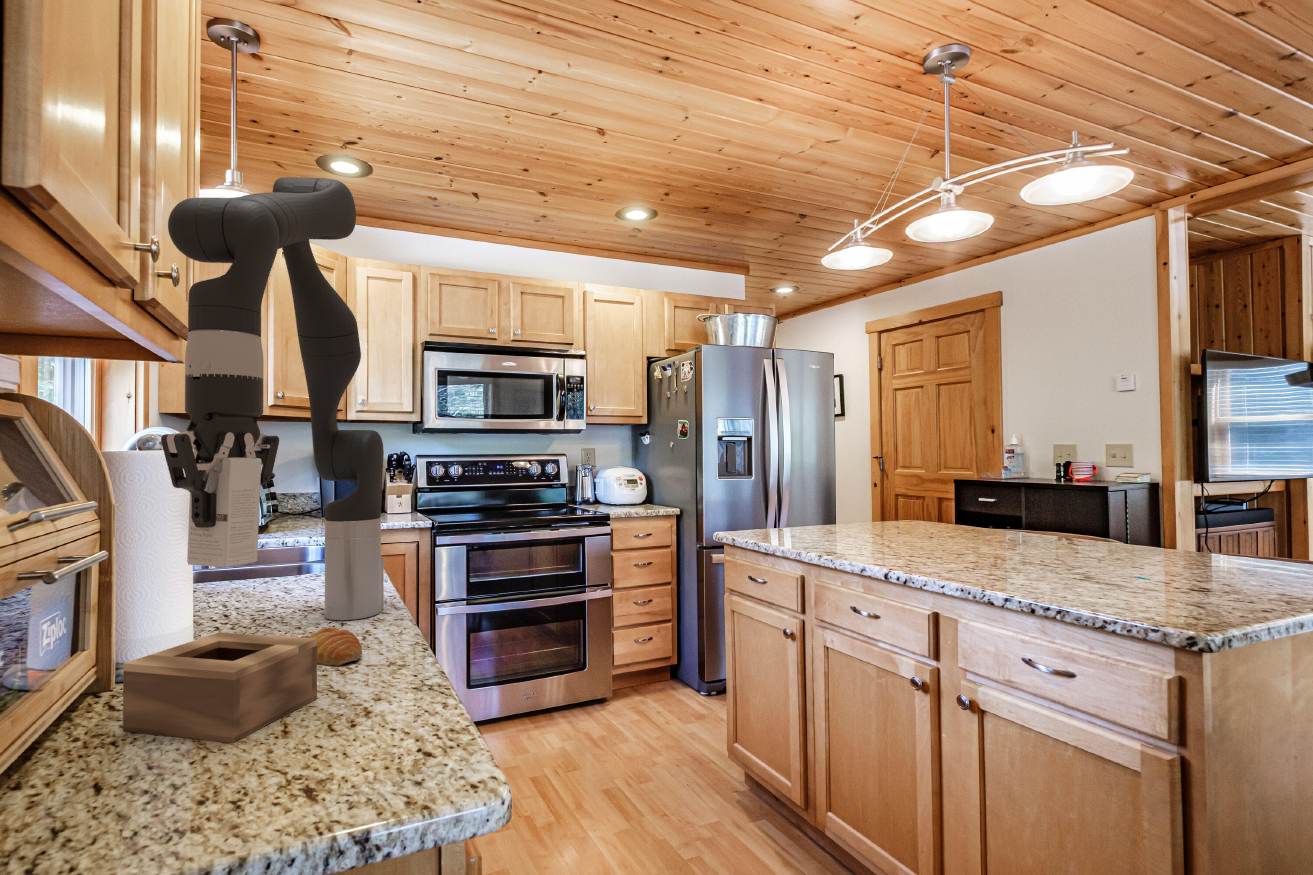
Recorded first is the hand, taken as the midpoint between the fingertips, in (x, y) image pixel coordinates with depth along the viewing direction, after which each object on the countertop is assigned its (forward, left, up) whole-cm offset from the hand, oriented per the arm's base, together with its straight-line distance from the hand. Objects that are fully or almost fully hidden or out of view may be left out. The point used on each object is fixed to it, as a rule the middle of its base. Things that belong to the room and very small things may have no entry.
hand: (224, 523), depth 75 cm
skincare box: (0, 0, -5) cm, 5 cm away
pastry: (-21, -2, -22) cm, 30 cm away
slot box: (0, 0, -22) cm, 22 cm away
